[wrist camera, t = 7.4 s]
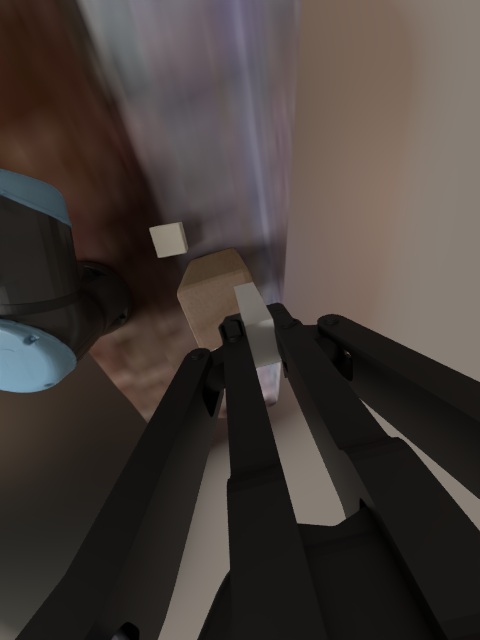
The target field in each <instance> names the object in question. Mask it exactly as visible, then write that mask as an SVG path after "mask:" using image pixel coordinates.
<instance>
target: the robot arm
mask: <svg viewBox="0 0 480 640" xmlns="http://www.w3.org/2000/svg"><path fill="white" fill-rule="evenodd" d="M72 228H73V227H72V224H71V223H70V221H69V217H68V212H67V208H66V204H65V200H64V198H63V196H62V194H61V193H60V192H59V191H58V190H57V189H56V188H55V187H53V186H51V185H50V184H48V183H45V182H43V181H40V180H38V179H35V178H31V177H28V176H25V175H22V174H18V173H15V172H11V171H8V170H4V169H0V389H1V390H5V391H11V392H36V391H41V390H44V389H47V388H50V387H52V386H54V385H55V384H57V383H58V382H59V381H61V379H63V378H64V377H65V376H66V375H67V374H68V373H69V372H71V371H73V370H74V368H75V367H76V365H77V364H78V362H79V361H80V360H81V359H82V358H83V356H84V355H85V354H86V353H87V352H88V350H89V349H90V348H91V347H92V346H93V345H94V343H95V342H96V341H97V340H98V339H99V337H101V336H104V335H106V334H109V333H111V332H114V331H115V330H117V329H118V328H120V327H121V326H122V325H123V324H124V322H125V321H126V320H127V318H128V317H129V315H130V313H131V309H132V298H131V294H130V291H129V289H128V287H127V285H126V284H125V282H124V281H123V280H122V279H121V278H120V277H119V276H118V275H117V274H116V273H115V272H113V271H112V270H110V269H109V268H107V267H105V266H103V265H100V264H97V263H93V262H86V261H81V262H77V260H76V254H75V249H74V243H73V237H72V232H71V229H72ZM234 289H235V293H236V297H237V301H238V305H239V309H240V313H237V314H233V315H230V316H226V317H225V318H224V320H223V322H222V323H221V324H220V325H219V327H218V329H219V332H220V336H221V339H222V344H223V345H222V346H221V347H219V348H218V349H216V350H214V351H212V352H210V351H209V349H207V348H198V349H195V350H192V351H191V352H190V353H188V354H187V355H186V356H185V358H184V360H183V362H182V363H181V365H180V367H179V369H178V371H177V372H176V374H175V376H174V378H173V380H172V382H171V383H170V385H169V387H168V389H167V391H166V392H165V394H164V396H163V398H162V400H161V401H160V403H159V405H158V407H157V409H156V411H155V412H154V414H153V416H152V418H151V420H150V421H149V423H148V425H147V427H146V429H145V431H144V432H143V434H142V436H141V438H140V440H139V441H138V443H137V445H136V447H135V449H134V450H133V452H132V454H131V456H130V458H129V459H128V461H127V464H126V465H125V467H124V469H123V470H122V472H121V474H120V476H119V478H118V479H117V481H116V483H115V485H114V487H113V489H112V491H111V492H110V494H109V496H108V498H107V499H106V501H105V503H104V505H103V507H102V508H101V510H100V512H99V514H98V516H97V517H96V519H95V521H94V523H93V525H92V527H91V528H90V530H89V532H88V534H87V536H86V538H85V539H84V541H83V543H82V545H81V546H80V549H79V550H78V552H77V554H76V556H75V557H74V559H73V561H72V563H71V565H70V566H69V568H68V570H67V572H66V574H65V575H64V577H63V578H62V579H61V581H60V582H59V583H58V585H57V586H56V587H55V588H54V590H53V591H52V592H51V594H50V595H49V596H48V597H47V599H46V600H45V601H44V603H43V604H42V605H41V607H40V608H39V609H38V611H37V612H36V613H35V614H34V616H33V617H32V618H31V619H30V621H29V622H28V623H27V625H26V626H25V627H24V629H23V630H22V631H21V632H20V634H19V635H18V636H17V638H16V639H15V640H158V637H159V634H160V631H161V629H162V626H163V623H164V621H165V618H166V614H167V611H168V607H169V604H170V600H171V597H172V594H173V590H174V587H175V583H176V579H177V575H178V571H179V567H180V563H181V559H182V555H183V551H184V548H185V544H186V540H187V535H188V532H189V528H190V524H191V520H192V516H193V512H194V508H195V504H196V501H197V496H198V493H199V489H200V485H201V481H202V477H203V473H204V469H205V465H206V461H207V457H208V454H209V449H210V445H211V442H212V438H213V434H214V430H215V426H216V422H217V418H218V414H219V410H220V407H221V403H222V399H223V395H224V389H225V391H226V406H227V422H228V436H229V453H230V468H231V476H230V478H229V479H228V481H227V509H228V529H229V530H228V531H229V553H230V571H229V572H228V573H227V575H226V576H225V578H224V580H223V582H222V584H221V585H220V587H219V589H218V591H217V594H216V596H215V598H214V601H213V603H212V605H211V608H210V610H209V613H208V615H207V618H206V620H205V622H204V625H203V627H202V629H201V632H200V634H199V637H198V639H197V640H480V531H479V530H478V528H477V527H476V526H475V525H474V523H473V522H472V521H471V520H470V519H469V517H468V516H467V515H466V514H465V513H464V511H463V510H462V509H461V508H460V506H459V505H458V504H457V503H456V502H455V500H454V499H453V498H452V497H451V496H450V494H449V493H448V492H447V491H446V490H445V488H444V487H443V486H442V485H441V483H440V482H439V481H438V480H437V479H436V478H435V476H434V475H433V474H432V473H431V471H430V470H429V469H428V468H427V466H426V465H425V464H424V463H423V462H422V461H421V459H420V458H419V457H418V455H417V454H416V453H415V452H414V451H413V449H412V448H411V447H410V446H409V445H408V444H407V443H406V442H405V441H404V440H402V439H400V438H399V437H390V436H388V435H387V433H386V432H385V431H384V430H383V429H382V427H381V426H380V425H379V423H378V422H377V421H376V419H375V418H374V417H373V416H372V414H371V413H370V412H369V410H368V409H367V408H366V406H365V405H364V404H363V403H362V401H364V402H365V403H366V404H367V405H368V406H369V407H371V408H372V409H373V410H374V411H375V412H377V413H378V414H379V415H380V416H381V417H382V418H384V419H385V420H386V421H387V422H388V423H390V424H391V425H392V426H393V427H394V428H396V429H397V430H398V431H399V432H400V433H402V434H403V435H404V436H405V437H407V439H409V440H410V441H411V442H412V443H413V444H415V445H416V446H417V447H418V448H419V449H421V450H422V451H423V452H424V453H425V454H427V455H428V456H429V457H430V458H431V459H432V460H434V461H435V462H436V463H437V464H438V465H439V466H441V467H442V468H443V469H444V470H445V471H447V472H448V473H449V474H450V475H451V476H452V477H454V478H455V479H456V480H457V481H459V482H460V483H461V484H462V485H463V486H464V487H466V488H467V489H468V490H469V491H470V492H472V493H473V494H474V495H475V496H476V497H477V498H479V499H480V382H478V381H476V380H474V379H472V378H470V377H468V376H466V375H464V374H462V373H460V372H458V371H455V370H453V369H451V368H449V367H447V366H445V365H443V364H441V363H439V362H437V361H435V360H433V359H431V358H428V357H426V356H424V355H422V354H420V353H418V352H416V351H414V350H412V349H410V348H407V347H406V346H403V345H401V344H399V343H397V342H395V341H393V340H391V339H389V338H387V337H384V336H383V335H381V334H379V333H376V332H374V331H372V330H370V329H368V328H366V327H364V326H362V325H360V324H358V323H356V322H354V321H352V320H350V319H347V318H345V317H343V316H341V315H335V314H328V315H325V316H322V317H320V318H319V319H318V320H317V322H318V323H317V324H318V325H303V324H302V323H301V321H299V320H298V319H294V318H292V317H291V315H290V314H289V312H288V311H287V310H286V308H285V307H284V305H283V304H280V303H274V304H270V305H265V303H264V301H263V300H262V298H261V296H260V294H259V292H258V290H257V288H256V287H255V285H254V283H253V282H251V283H247V284H243V285H239V286H235V287H234ZM347 352H348V353H349V354H350V355H351V356H350V355H349V354H347ZM280 357H281V359H282V364H283V370H284V375H285V378H288V380H289V382H290V385H291V387H292V389H293V391H294V394H295V396H296V398H297V401H298V403H299V405H300V408H301V410H302V412H303V415H304V417H305V419H306V422H307V424H308V426H309V429H310V430H311V433H312V435H313V438H314V440H315V443H316V445H317V447H318V449H319V452H320V454H321V456H322V459H323V461H324V463H325V466H326V468H327V470H328V473H329V475H330V477H331V480H332V482H333V484H334V487H335V489H336V491H337V494H338V496H339V498H340V501H341V504H342V506H343V510H344V513H345V516H346V519H345V520H344V521H342V522H341V523H340V524H338V525H336V526H322V525H310V524H298V523H297V522H296V518H295V514H294V511H293V507H292V503H291V500H290V495H289V492H288V488H287V484H286V480H285V476H284V473H283V469H282V465H281V462H280V458H279V454H278V451H277V447H276V443H275V439H274V435H273V432H272V428H271V424H270V421H269V417H268V413H267V409H266V405H265V401H264V398H263V394H262V390H261V386H260V383H259V379H258V375H257V371H256V368H258V367H262V366H266V365H269V364H273V363H277V362H281V360H280ZM359 398H360V399H361V400H362V401H361V400H360V399H359Z"/></svg>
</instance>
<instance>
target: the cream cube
mask: <svg viewBox="0 0 480 640" xmlns="http://www.w3.org/2000/svg"><path fill="white" fill-rule="evenodd" d="M149 230H150V233H151V236H152V239H153V243H154V246H155V249H156V252H157V255H158V258H161V257H167V256H172V255H178V254H183V253H186V252H187V251H188V249H189V248H188V244H187V241H186V237H185V233H184V229H183V225H182V222H177V223H171V224H166V225H160V226H155V227H151V228H149Z"/></svg>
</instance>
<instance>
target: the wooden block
mask: <svg viewBox="0 0 480 640" xmlns="http://www.w3.org/2000/svg"><path fill="white" fill-rule="evenodd" d="M251 282H253V279H252V275H251V273H250V271H249V270H248V268H247V267H246V265H245V263H244V262H243V260H242V259H241V257H240V255H239V254H238V252H237V251H236V249H235V248H229V249H226V250H222V251H219V252H216V253H213V254H210V255H206V256H203V257H200V258H197V259H193V260H191V261H190V262H189V264H188V267H187V269H186V272H185V274H184V276H183V279H182V281H181V283H180V286H179V288H178V291H177V297H178V300H179V302H180V304H181V306H182V309H183V311H184V313H185V316H186V318H187V320H188V323H189V325H190V327H191V329H192V332H193V334H194V336H195V339H196V341H197V343H198V346H199V347H200V348H207V349H209V350H211V349H215V348H218V347H221V346H222V345H223V344H222V339H221V336H220V332H219V329H218V327H219V325H220V324H221V323H222V322H223V320H224V318H225V317H226V316H230V315H233V314H237V313H240V309H239V305H238V301H237V297H236V293H235V289H234V287H235V286H239V285H243V284H247V283H251Z"/></svg>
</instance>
